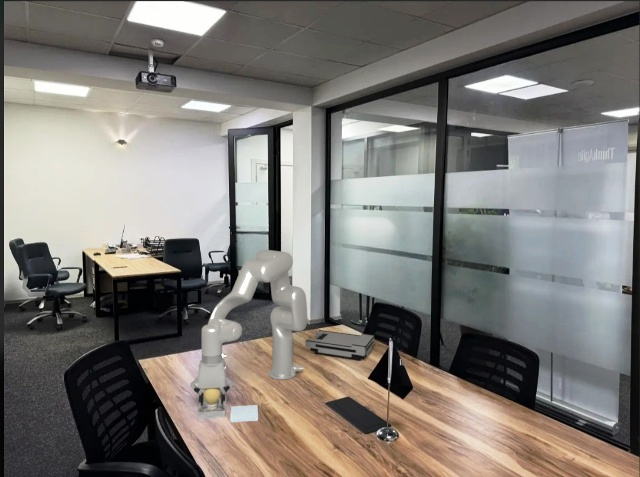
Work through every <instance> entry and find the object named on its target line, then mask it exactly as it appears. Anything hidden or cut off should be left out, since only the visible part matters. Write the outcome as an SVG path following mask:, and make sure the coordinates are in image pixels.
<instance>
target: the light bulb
mask: <svg viewBox="0 0 640 477" xmlns="http://www.w3.org/2000/svg"><path fill="white" fill-rule="evenodd" d="M219 399H221V390H220V388H212V389H204V390H203V400H205V401H206V402H207V407H206V410H218V406H217V401H218V400H219Z"/></svg>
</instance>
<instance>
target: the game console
mask: <svg viewBox="0 0 640 477" xmlns="http://www.w3.org/2000/svg"><path fill="white" fill-rule="evenodd" d="M304 344H305V348H308V349H310V350H309V351H310V352H314V355H318V356H319V355H320V356H323V357H324V356H325V357H331V358H337V359H339V358H340V359H344V360H351V361H357V362H361V361H362V360H364V359H365V358H366V357H367V356H368V355H369V354H370V353H371V351H372V350H373V347H374V344H375V334H369V333H361V334H353V333H345V332H338V331H332V330H331V331H330V330H329V331H328V330H322V329H319V330H317V331H316V332H315V338H312V337H308V338H307V339H306V340H305V342H304Z"/></svg>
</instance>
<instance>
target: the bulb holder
mask: <svg viewBox="0 0 640 477" xmlns="http://www.w3.org/2000/svg"><path fill="white" fill-rule="evenodd" d="M217 407H221V409H217V410H207V409H206V410H205V409H204V408H207V402H206V401H205V399H203V405H202V406H201V403H199V402H198V408H197V412H196V420H201V419H203V420H204V419H217V418H226V410H227V398H226V397H225V401H223V405H222V404H221V398H219V400H218V401H217ZM203 409H204V410H203Z"/></svg>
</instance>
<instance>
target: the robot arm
mask: <svg viewBox="0 0 640 477" xmlns="http://www.w3.org/2000/svg"><path fill="white" fill-rule="evenodd" d="M293 264H294V260H293V257H292V255H291V253H288V252H286V251H280V250H279V251H278V250H271V249H263V250H258V252H257V253H256V255H255V259H248V260H246V261H244V263H243V265H242V267H241V268H240V270H239V272H238V276H237V277H236V278H237V279H236V280H235V283H234V285H233V287H232V290H231V292H229V293H228V294H227V295H226V296H225V297H223V298H222V299H221V300H220V301H219V302H218V303H217V304H216V305H215V307H214V308H213V310H212V313H211V315H210V318H209V320H208V322H207V324H205V325H203V326H202V328H201V360H199V364H198V372H197V373H198V374H197V375H198V376H197V378H195V379H194V380H193V381H192V382H191V383H190V385H189V387H190V388H191V389H192V390H193V391H194V392H195V393H196V394H197V395H198V404H199V403H201V406H202V405H203V400H204V396H203V393H204V390H205V389H212V388H220V390H221V396H220V399H221V404H222V405H223V401H225V398H226V393H227V392H228V391H230V389H231V388H232V386H233V385H234V383H235V382H234V381H233V379H231V378H230V377H229V376H227V370H226V369H227V367H226V360H225V359H226V358H227V354H226V353H224V352H223V343H229V342H235V341H237V340H238V339H240V338H241V336H242V335H243V334H242V333H243V328H242V327H243V326H242V325H241V323H239V322H237V321H234V320H229V319H226V318H227V315H228V314H229V312H231V311H232V310H233V309H235V308H236V307H239V306H241V305H244V304H246V303H249V302H251V301H252V299H253V296H254V294H255V292H256V290H257V286H258V285H259V282H260V283H261V282H262V283H270V291H271V299H272V302H273V303H274V305H278V306H276V307H274V308H273V309H272V310H271V312H270V317H269V318H270V324H271V330H272V332H271V333H272V344H271V345H272V347H271V348H272V350H271V351H272V352H271V353H272V354H271V356H272V357H271V358H272V359H271V361H272V363H271V369H270V370H269V371H268V375H269V377H270V378H272V379H274V380H281V381H284V380H290V379H293V378H294V377H296V375H297V372H298V371H299V372H302V371H304V366H303V365H302V366H301V365H300V364H297V365H296V364H294V334H293V332H302V331H304V330H305V329H306V327H307V326H308V320H309V318H308V305H307V304H308V303H307V296H306V292H305V290H304V289H303V288H301V287H299V286H296V285H291V283H290V276H289V271H290V270H291V268H292V266H293ZM226 383H227V385H226ZM196 385H197V386H196Z"/></svg>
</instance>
